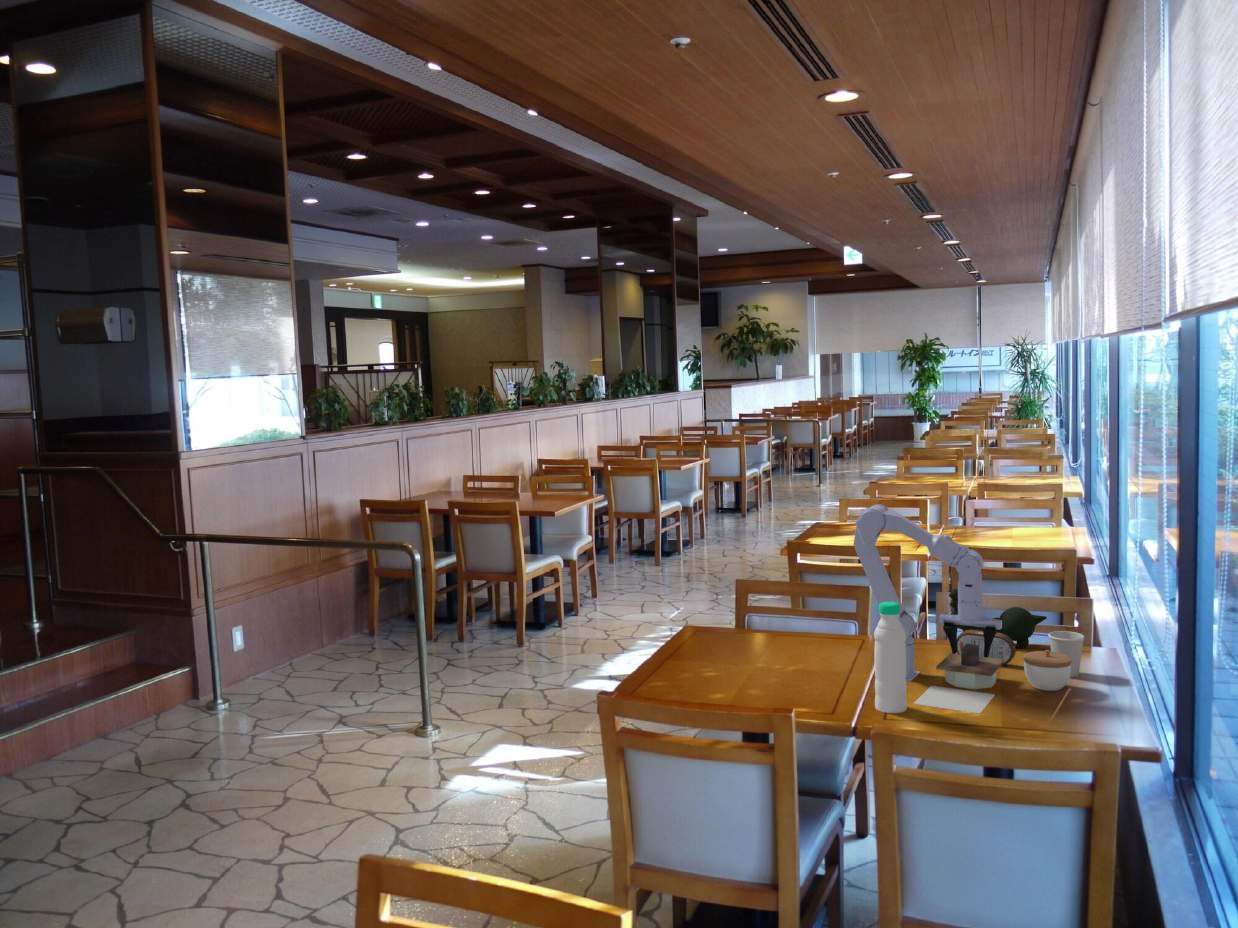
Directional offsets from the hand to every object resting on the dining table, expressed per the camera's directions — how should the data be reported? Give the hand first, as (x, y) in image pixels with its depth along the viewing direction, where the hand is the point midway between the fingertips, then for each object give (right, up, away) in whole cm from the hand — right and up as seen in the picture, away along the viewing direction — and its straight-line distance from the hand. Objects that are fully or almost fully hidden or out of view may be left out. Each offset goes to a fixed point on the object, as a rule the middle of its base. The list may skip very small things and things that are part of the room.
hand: (970, 654), depth 244 cm
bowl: (0, -7, +1) cm, 7 cm away
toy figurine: (+19, -4, +33) cm, 39 cm away
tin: (+10, -6, +17) cm, 20 cm away
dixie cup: (+26, -6, +5) cm, 27 cm away
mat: (-8, -9, -12) cm, 17 cm away
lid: (0, -3, 0) cm, 3 cm away
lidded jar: (+17, -7, -5) cm, 19 cm away
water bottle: (-24, -10, -17) cm, 31 cm away
